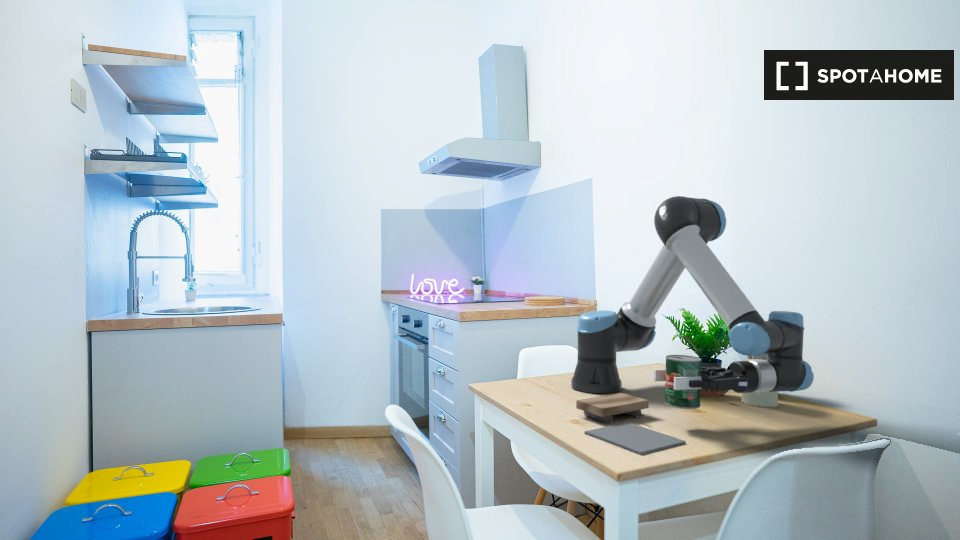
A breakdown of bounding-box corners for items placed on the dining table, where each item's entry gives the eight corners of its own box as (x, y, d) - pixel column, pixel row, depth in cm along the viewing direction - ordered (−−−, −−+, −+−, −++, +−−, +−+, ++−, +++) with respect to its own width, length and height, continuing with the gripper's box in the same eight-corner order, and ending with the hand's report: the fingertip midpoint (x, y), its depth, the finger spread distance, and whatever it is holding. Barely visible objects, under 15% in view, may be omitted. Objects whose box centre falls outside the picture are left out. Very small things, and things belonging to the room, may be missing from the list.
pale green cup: (736, 403, 154) (737, 359, 153) (747, 397, 160) (748, 356, 160) (772, 409, 147) (773, 364, 147) (782, 403, 154) (783, 360, 154)
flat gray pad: (584, 433, 124) (584, 431, 124) (628, 424, 131) (628, 422, 131) (640, 454, 110) (640, 452, 110) (685, 443, 118) (685, 440, 118)
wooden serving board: (576, 416, 138) (576, 400, 138) (621, 407, 146) (621, 392, 146) (602, 425, 130) (602, 408, 130) (648, 416, 139) (648, 400, 139)
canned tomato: (707, 406, 128) (708, 358, 128) (687, 411, 124) (688, 362, 123) (677, 398, 135) (679, 353, 134) (657, 402, 130) (658, 356, 130)
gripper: (781, 403, 123) (690, 407, 118) (721, 382, 143) (641, 385, 138) (782, 369, 123) (691, 372, 118) (722, 353, 143) (642, 355, 138)
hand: (664, 379), depth 128 cm, fingers closed on canned tomato, 8 cm apart
